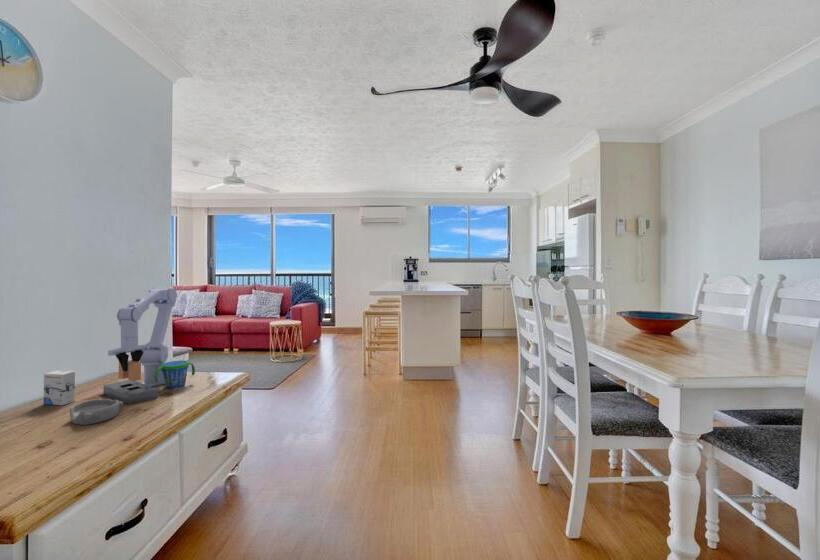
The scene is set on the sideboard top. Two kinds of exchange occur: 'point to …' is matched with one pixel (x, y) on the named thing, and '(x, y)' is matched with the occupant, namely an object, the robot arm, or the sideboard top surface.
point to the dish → (94, 411)
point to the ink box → (59, 387)
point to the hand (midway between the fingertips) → (129, 370)
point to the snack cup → (174, 373)
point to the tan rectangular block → (131, 371)
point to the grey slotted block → (130, 391)
